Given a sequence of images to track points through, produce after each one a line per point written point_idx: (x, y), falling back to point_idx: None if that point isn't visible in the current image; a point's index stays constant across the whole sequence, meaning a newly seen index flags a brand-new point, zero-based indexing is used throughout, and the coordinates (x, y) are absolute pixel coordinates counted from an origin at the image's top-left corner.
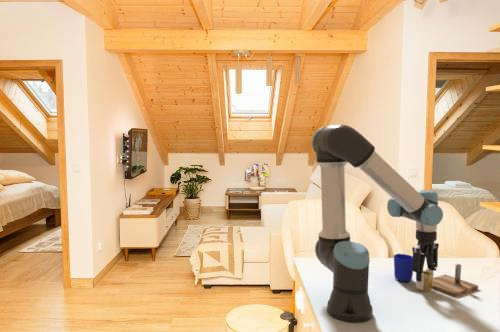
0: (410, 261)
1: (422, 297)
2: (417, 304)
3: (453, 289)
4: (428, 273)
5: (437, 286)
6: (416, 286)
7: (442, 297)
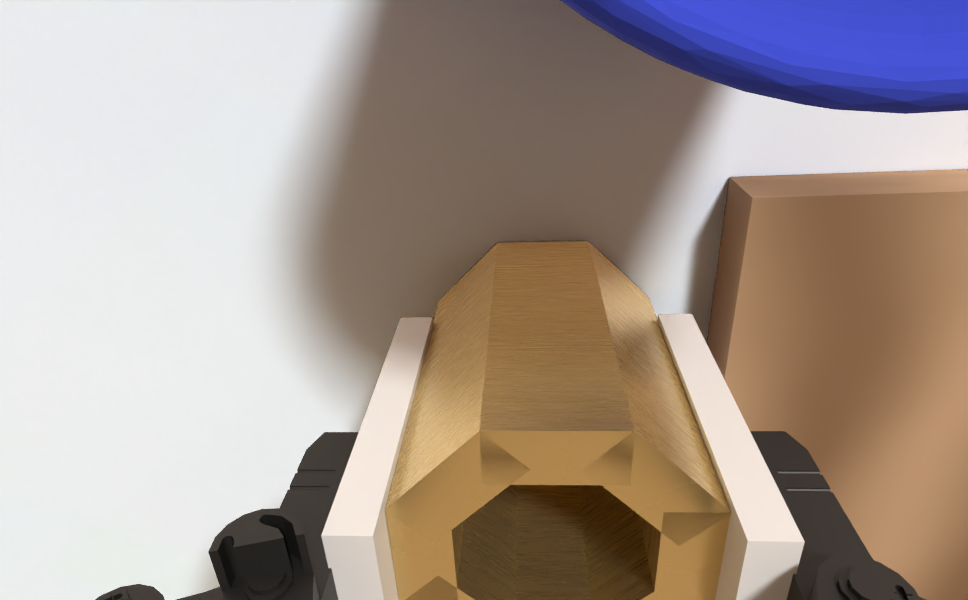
0: (749, 77)
1: None
2: (100, 539)
3: None
4: (648, 567)
5: None
6: (398, 333)
7: None
